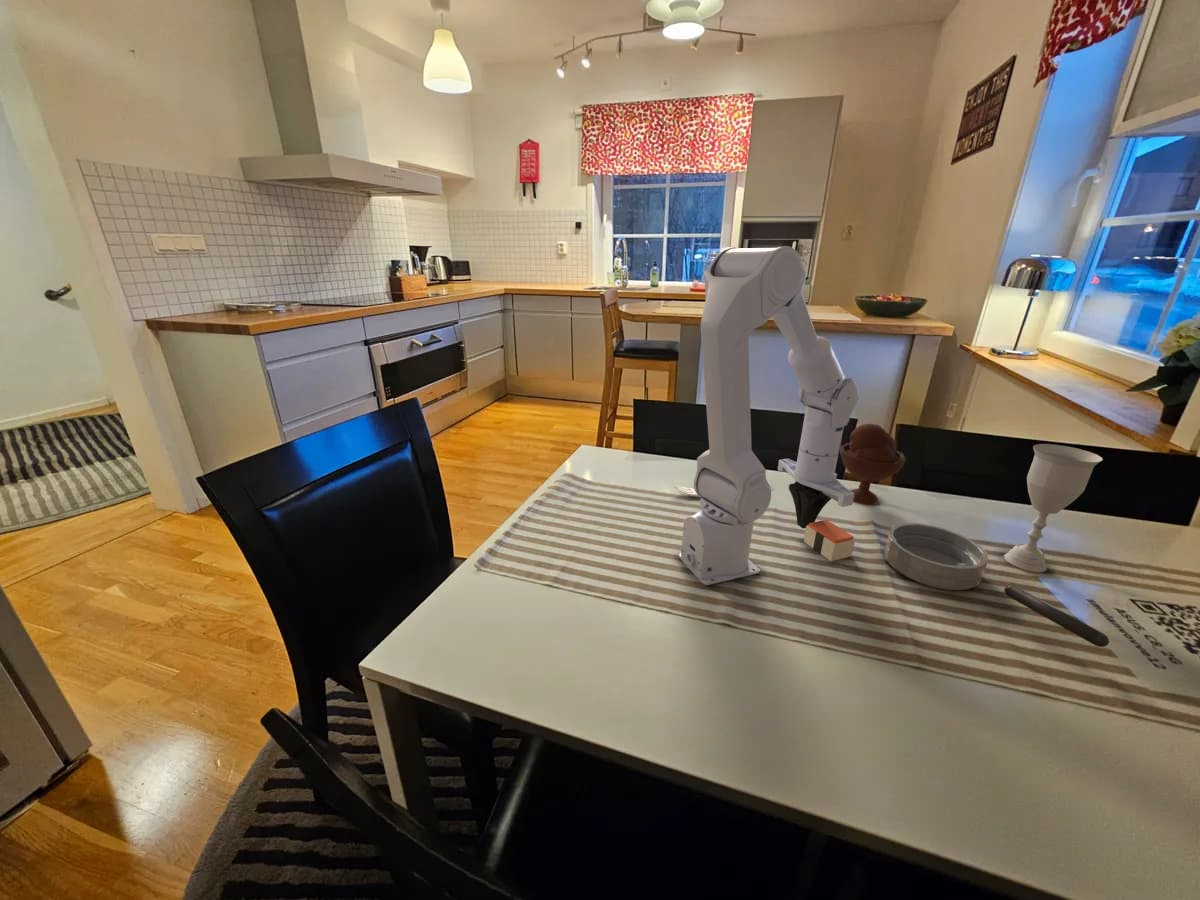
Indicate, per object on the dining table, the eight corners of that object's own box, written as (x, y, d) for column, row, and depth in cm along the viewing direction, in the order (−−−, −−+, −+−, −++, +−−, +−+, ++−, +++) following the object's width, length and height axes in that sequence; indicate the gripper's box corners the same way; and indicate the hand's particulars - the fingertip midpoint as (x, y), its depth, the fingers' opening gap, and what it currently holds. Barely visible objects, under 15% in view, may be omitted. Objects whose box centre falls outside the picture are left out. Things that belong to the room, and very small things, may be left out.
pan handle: (1100, 651, 54) (1106, 640, 54) (999, 594, 64) (1003, 584, 63) (1109, 648, 55) (1114, 636, 54) (1008, 591, 64) (1011, 581, 64)
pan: (938, 600, 66) (946, 575, 65) (865, 553, 77) (870, 530, 75) (1000, 582, 70) (1008, 558, 69) (921, 539, 81) (927, 517, 79)
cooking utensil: (770, 488, 98) (771, 480, 97) (676, 498, 93) (676, 489, 93) (761, 482, 101) (762, 473, 100) (670, 491, 96) (670, 482, 96)
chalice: (999, 567, 73) (1039, 455, 67) (991, 545, 79) (1027, 440, 73) (1062, 581, 70) (1111, 466, 64) (1049, 557, 76) (1092, 449, 69)
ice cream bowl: (890, 517, 88) (909, 438, 82) (824, 499, 94) (838, 425, 88) (899, 496, 95) (917, 422, 90) (837, 481, 102) (851, 411, 96)
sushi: (830, 561, 74) (835, 541, 73) (803, 541, 80) (806, 522, 78) (851, 556, 76) (856, 537, 74) (823, 537, 81) (826, 518, 80)
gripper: (876, 463, 72) (858, 543, 77) (806, 432, 84) (794, 502, 89) (839, 469, 69) (822, 551, 74) (772, 437, 82) (762, 509, 87)
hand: (804, 525), depth 82 cm, fingers closed
